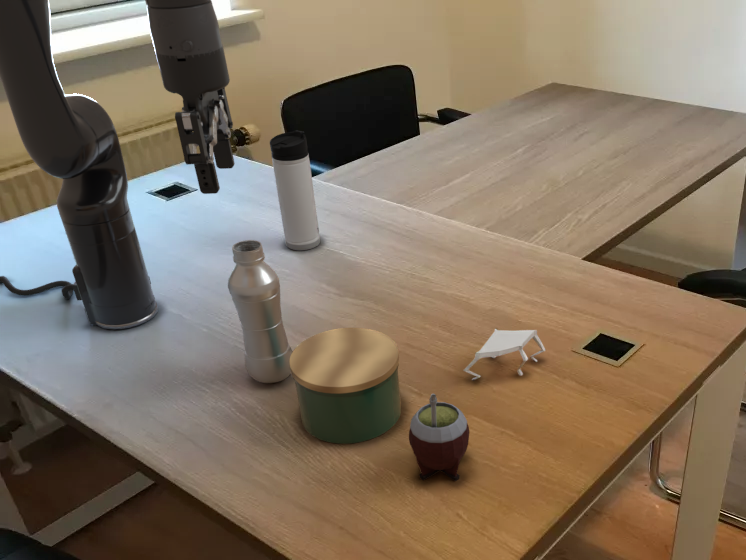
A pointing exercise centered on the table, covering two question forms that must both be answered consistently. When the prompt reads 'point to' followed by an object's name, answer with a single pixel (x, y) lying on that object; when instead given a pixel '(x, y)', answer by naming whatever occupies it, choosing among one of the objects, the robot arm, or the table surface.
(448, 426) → the mate gourd
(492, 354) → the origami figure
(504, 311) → the table surface
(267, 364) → the silver metal bottle
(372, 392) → the crock
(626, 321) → the table surface
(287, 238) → the travel mug
